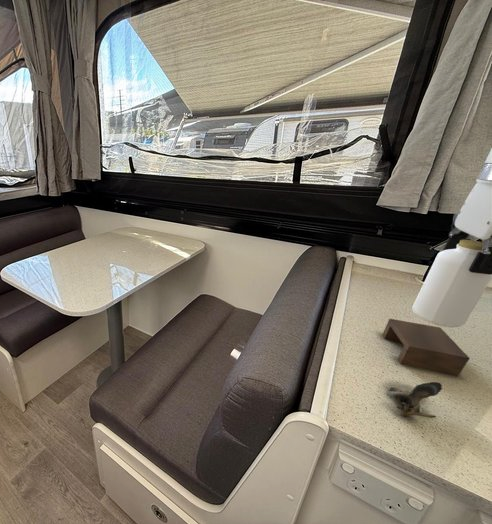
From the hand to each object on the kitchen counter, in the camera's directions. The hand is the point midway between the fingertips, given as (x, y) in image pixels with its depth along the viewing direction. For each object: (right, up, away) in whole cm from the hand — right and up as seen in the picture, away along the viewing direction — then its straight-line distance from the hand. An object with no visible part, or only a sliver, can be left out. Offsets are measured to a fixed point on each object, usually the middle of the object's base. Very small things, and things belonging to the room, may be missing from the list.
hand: (464, 263), depth 55 cm
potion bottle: (0, -13, +6) cm, 14 cm away
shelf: (0, -23, +10) cm, 25 cm away
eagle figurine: (-14, -28, -2) cm, 32 cm away
